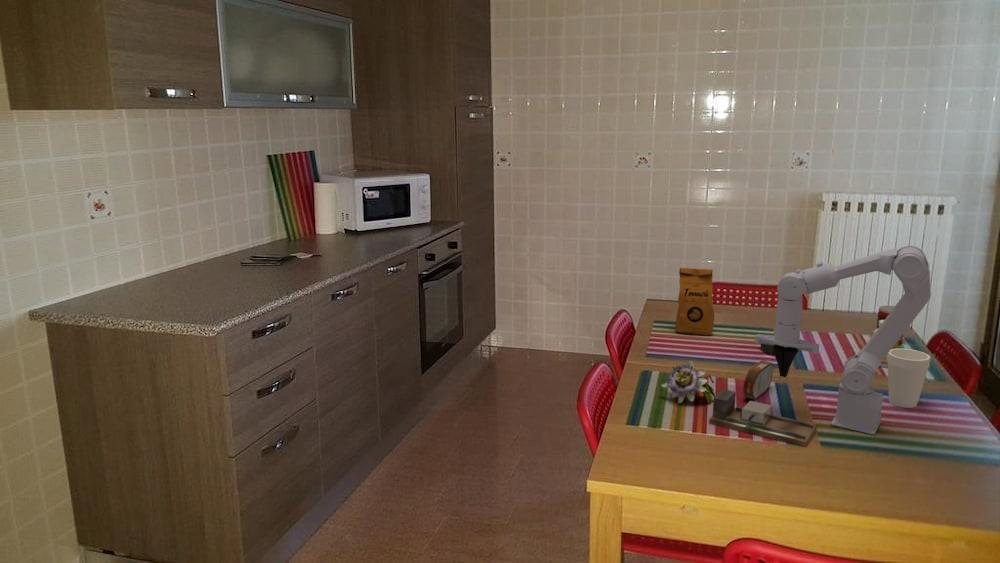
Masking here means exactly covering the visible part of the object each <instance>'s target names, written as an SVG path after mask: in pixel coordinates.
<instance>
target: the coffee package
mask: <svg viewBox="0 0 1000 563" xmlns="http://www.w3.org/2000/svg"><path fill="white" fill-rule="evenodd" d="M678 272H679V273H678V275H679V292H678V298H677V299H678V300H677V302H678V308H677V314H676V319H675V331H676V332H678V333H683V334H690V333H692V334H693V335H698V336H699V335H700V336H709V335H710V336H711V333H712V332H713V330H714V326H715V310H714V307H713V276H714V275H713V268H708V269H707V268H692V267H691V268H690V267H680V268H679V271H678Z"/></svg>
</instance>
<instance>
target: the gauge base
mask: <svg viewBox="0 0 1000 563" xmlns="http://www.w3.org/2000/svg"><path fill="white" fill-rule="evenodd" d="M736 394H737V393H736V390H735V391H734V390H730V389H724V388H723V389H722V390H721V391H719V393H718V394H717V395H715V397H714V396H713V401H712V403H713V404H712V416H710V418H709V421H708V422H709V424H711V425H714V426H719V427H723V428H728V429H730V428H731V430H735V431H739V432H742V433H743V432H744V433H748V434H751V435H755V436H759V437H763V438H768V439H771V440H772V439H773V440H775V441H779V442H780V441H781V442H785V443H787V444H792V445H796V446H801V447H807V446H808V444H809V442H810V441H811V440H812V438H813V437H814V435H815V434H816V432H817V429H818V428H817V427H818V426H817V425H815V424H814V423H810V422H805V421H802V420H801V421H800V420H796V419H793V418H788V417H784V416H783V417H782V416H779V415H774V414H771V415H770V419H769V420H768V421H767V422H766V423H765V425H760V424H756V423H752V422H747V421H743V420H741V418H740V414H741V408H742V407H739V406H736V397H737V396H736Z"/></svg>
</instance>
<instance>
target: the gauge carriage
mask: <svg viewBox="0 0 1000 563" xmlns="http://www.w3.org/2000/svg"><path fill="white" fill-rule="evenodd" d="M740 408H741V414H740V418H741V420H743V421H747V422H752V423H756V424H760V425H765V423H766V422H767V421H768V420H769V419H770V415H772V405H771V404H767V403H762V402H757V401H753V400H749V401H748V402H746V403H745V404H744V405H743V406H742V407H740Z"/></svg>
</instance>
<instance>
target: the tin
mask: <svg viewBox="0 0 1000 563" xmlns="http://www.w3.org/2000/svg"><path fill="white" fill-rule="evenodd" d="M773 372H774V364H773V362H770V361H767V360H764V359H761V360H760V361H758V362H757V363H756V364H754V365H753V366H751V367H750V368H749V369H748V371H747V373H746V376H745V379H744V383H743V385H742V386H743V387H742V394H743V397H744V398H747V399H751V400H757V399H758V398H759V397H760V396H762V395H763V394H764V393H766V392H767V391H768V389H769V388H770V385H771V383H772V378H773Z"/></svg>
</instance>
